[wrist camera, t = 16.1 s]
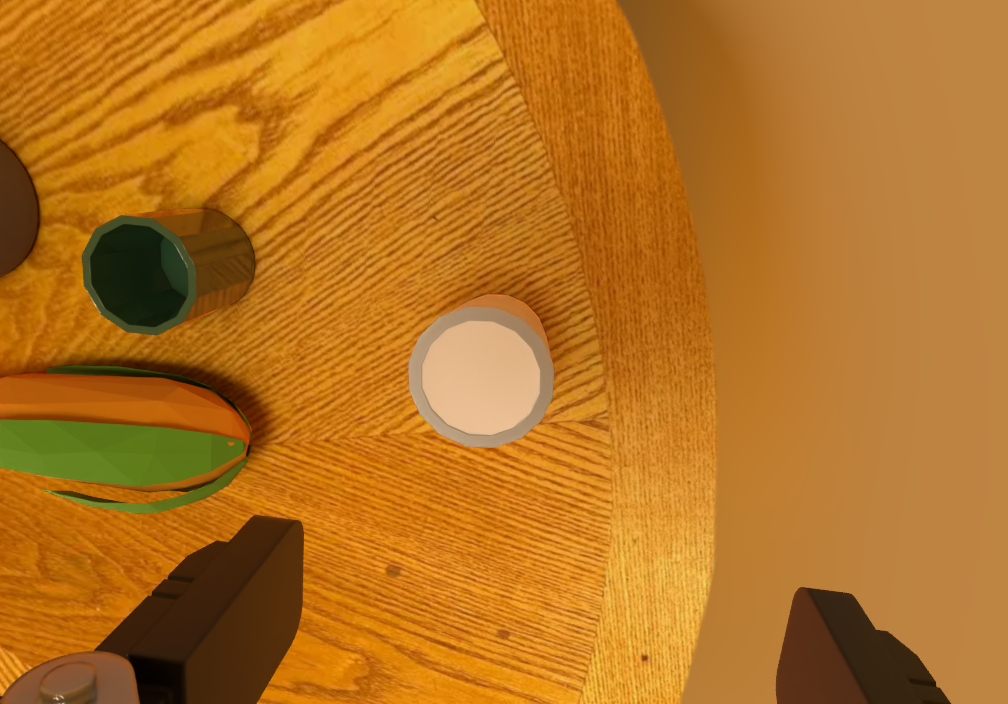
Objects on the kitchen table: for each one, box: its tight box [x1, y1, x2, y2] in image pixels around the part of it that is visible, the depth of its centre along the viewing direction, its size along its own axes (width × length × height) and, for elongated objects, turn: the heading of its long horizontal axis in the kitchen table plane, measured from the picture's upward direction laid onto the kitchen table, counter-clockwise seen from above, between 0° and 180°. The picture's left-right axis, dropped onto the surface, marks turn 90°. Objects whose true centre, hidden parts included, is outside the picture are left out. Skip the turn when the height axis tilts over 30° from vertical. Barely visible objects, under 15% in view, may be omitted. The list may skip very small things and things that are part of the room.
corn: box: [0, 365, 252, 514], centre depth 39 cm, size 7×8×20 cm
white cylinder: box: [409, 294, 554, 448], centre depth 36 cm, size 7×7×7 cm
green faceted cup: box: [82, 208, 255, 335], centre depth 37 cm, size 6×6×6 cm
